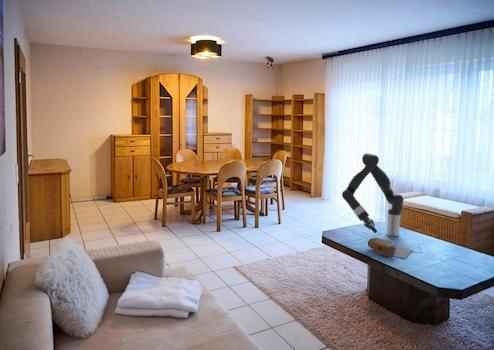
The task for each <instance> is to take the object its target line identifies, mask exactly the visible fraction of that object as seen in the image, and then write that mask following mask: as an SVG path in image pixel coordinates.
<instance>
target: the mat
mask: <svg viewBox="0 0 494 350" xmlns="http://www.w3.org/2000/svg"><path fill="white" fill-rule="evenodd" d="M393 246H394V247H395V248H396V251H395V253H394V255H393V256H392V257H393V258H397V259H401V260H402V259H403V260H405V259H407V258H408V257H409V256H410V254H411V253H413V251H414V249H410V248H404V247H400V246H397V245H396V246H395V245H393ZM374 252H375V253H377V252H376V251H374ZM377 254H378V253H377Z"/></svg>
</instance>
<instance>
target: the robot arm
mask: <svg viewBox="0 0 494 350" xmlns="http://www.w3.org/2000/svg"><path fill="white" fill-rule="evenodd" d="M361 158H362V159H361V161H362V163H363V165H364V167H363V168H362V169H361V171H359V172H358V173H356V174H355V175H354V176H353V177H352V178H351V180H350V182H349V183H348V186H347V187H346V189H345V190H343V191H342V193H341V197H342V198H343V199H344V201H346V203H347V204H348V206H349V207H350V209H351V210H352V211H353V213H354V215H355V216H356V217H357V218H358V219H359V220H360V221H361V222H363V223H364V224H363V226H364V227H366V228H368V229H369V230H371V231H372V233H374V234H376V233H378V230H377V229H376V228H375V222H374V220H373V219H371V218H370V217H369V216H370V213H369V212H367V210H366V209H365V208H364V206H362V204H361V203H360V202H359V201H358V200H357V198H356V197H355V196H354V194H355V193H356V191H357V190H358V189H359V187H360V186H361V185H362V183H363V181H364V180H365V179H366V177H367V176H368V175H369V174H371V176H372V177H373V179H374V180H375V182H376V184H377V186H378V187H379V188H380V190H381V192H382V193H383V195H384V197H385V199H386V201H387V203H388V204H390V205H392V208H389V209H388V212H387V213H388V214H387V222H386V232H385V233H386V235H387V236H389V237H399V234H400V225H401V214H402V211H403V205H404V197H403V195H401V194H399V193H395V192H394V191H393V189H392V187H391V180H390V178H389V176H388V175H387V174H386V172H385V171H383V169H382V168H381V167H379V166H378V164H379V161H380V160H379V156H378V155H375V154H373V153H370V152H369V153H364V154H363V155H362V157H361Z"/></svg>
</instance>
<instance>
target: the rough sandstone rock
mask: <svg viewBox="0 0 494 350" xmlns="http://www.w3.org/2000/svg"><path fill="white" fill-rule="evenodd" d="M394 246H395V245H393V244H392V243H390V242H388V241H386V240H384V239H383V238H380V237H372V238H369V239H368V240H367V247H369V249H370V248H371V249H372V250H373V251H374V252H375V251H376V252H377V254H379V255H381V256H386V257H389V256H390V257H393V255H394V253H395V251H396V248H395V247H394ZM376 252H375V253H376Z"/></svg>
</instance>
